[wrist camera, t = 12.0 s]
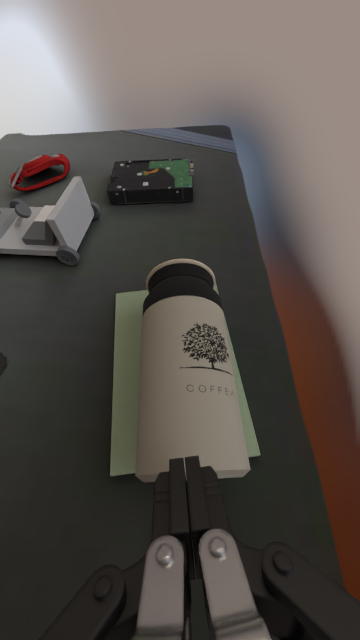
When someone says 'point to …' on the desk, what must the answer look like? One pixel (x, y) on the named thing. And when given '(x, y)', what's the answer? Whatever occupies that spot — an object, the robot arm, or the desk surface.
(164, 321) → the travel mug
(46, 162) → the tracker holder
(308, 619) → the robot arm
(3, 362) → the milkshake
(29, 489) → the desk surface
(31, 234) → the toy car
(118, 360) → the mat
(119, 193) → the disk drive
